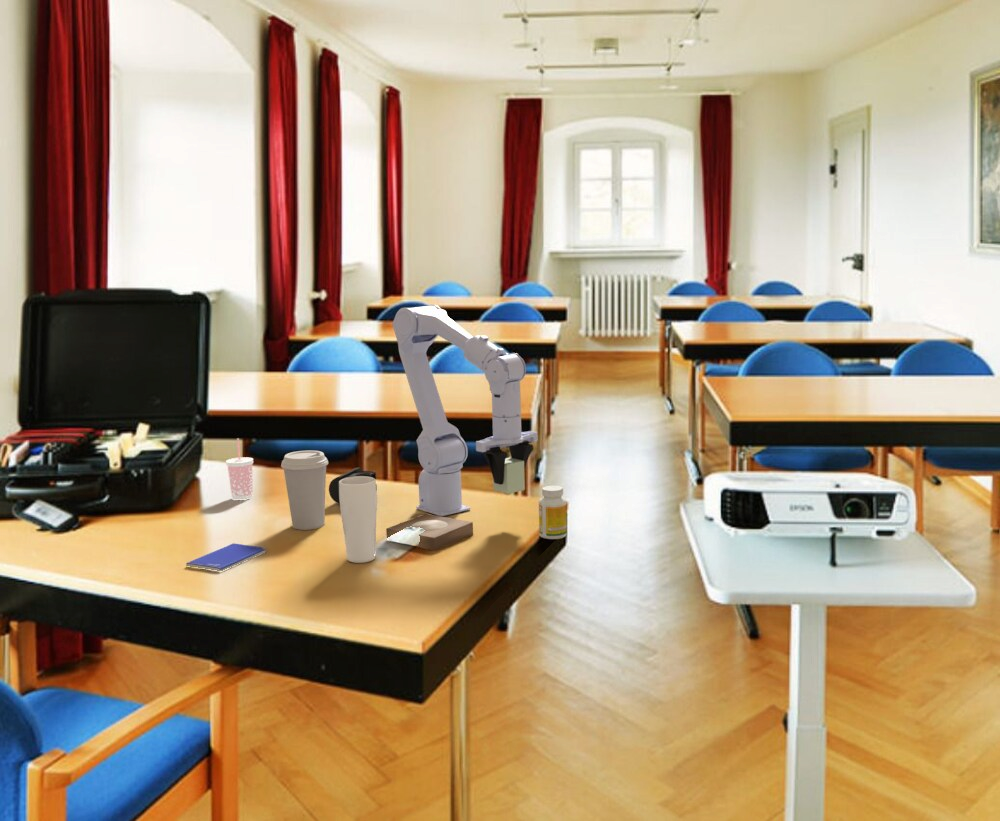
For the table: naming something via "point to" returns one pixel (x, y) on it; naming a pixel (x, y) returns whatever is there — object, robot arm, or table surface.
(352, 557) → the drinking glass
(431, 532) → the plinth
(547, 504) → the supplement bottle
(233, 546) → the blue notebook
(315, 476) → the coffee cup
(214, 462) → the table surface
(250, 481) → the beverage cup
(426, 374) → the robot arm
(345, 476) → the end cap
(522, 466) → the block
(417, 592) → the table surface
